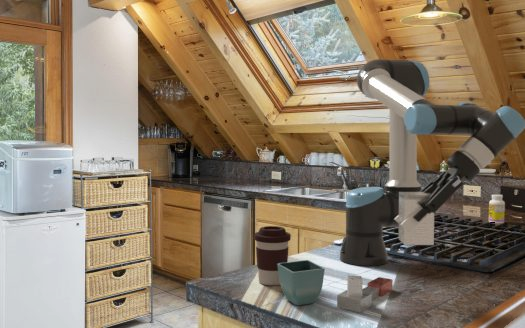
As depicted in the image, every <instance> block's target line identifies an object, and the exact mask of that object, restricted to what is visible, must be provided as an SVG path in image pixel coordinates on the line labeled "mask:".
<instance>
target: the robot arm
mask: <svg viewBox="0 0 525 328" xmlns="http://www.w3.org/2000/svg"><path fill="white" fill-rule="evenodd" d="M424 65H425V64H423V63H422V62H420V61H416V60H410V59H407V60H406V59H386V58H385V59H383V58H378V59H377V58H376V59H373V60H370V61H367V62H366V63H364V64H363V65H362V67H361V68H360V69H359V71H358V73H357V76H356V84H357V87H358V90H359V91H360V92H361V93H362V95H364V96H365V97H367V98H369V99H373V100H377V101H378V102H379V103H381V104H383V105H384V106H385V107H387V108H388V109H389V180H388V181H387V182H386V183H385V184H384V188H383V187H381V186H364V187H357V188H354V189H351V190H349V191H348V192H347V195H346V201H345V237H344V240H343V243H342V246H341V247H340V252H339V260H340V261H341V262H343V263H345V264H349V265H353V266H354V265H355V266H364V267H366V266H367V267H368V266H369V267H372V266H382V265H385V264H387V263H388V257H389V255H388V252H387V249H386V244H385V242H384V237H383V233H384V232H383V230H384V228H396V227H397V228H399V192H428V193H430V194H431V196H430V197H429V198H428V199H427V200H426V201H425V203H423V202H422V203H420V205H421V206H422V207H423V208H422V207H421V206H419V207H418V208H417V209H416V210H415V211H414V212H413V213H412V214H411V215H410V216H409V217H407V218H406V219H405V220H404V221H403V222H402V223H401V224H400V225H401V226H402V227H403V228H404V229H405V230H406V231H407V232H408V233H409V232H410V231H411V230H413V229H414V228H415V227H416V226H417V225H418V224H419V223H420V222H421V221H422V220H423V219H424V218H425V217H426V216H427V215H428V213H429V214H430V213H432V212H433V213H434V214H435V213H436V212H437V211H438V210H439V209H440V208H441V207H442V206H443V205H444V204H445V203H446V202H447V200H448V199H450V197H452V195H453V194H455V192H456V191H457V190H459V189H460V188H461V187H463V185H464V182H463V181H462V180H465V181H466V182H471V181H472V180H473V179H475V178H476V177H477V176H478V175H479V174H480V172H481V170H484V168H486V167H487V166H490V165H492V161H493V160H494V159H495V158H496V157H497V156H499V154H501V152H502V151H503V150H505V149H506V148H507V147H508V146H509V145H510V144H511V143H512V142H513V141H514V140H515V139H516V140H517V138H518V136H519V135H520V134H521V133H522V132H523V131H524V130H525V118H524V117H523V116H522V114H520V112H518V111H517V110H516V109H514V108H513V107H510V106H508V105H504V106H501V107H500V108H498V109H497V110H495V112H494V111H491V110H488V109H486V108H484V107H481V106H479V105H477V104H476V103H473V102H472V103H470V102H467V101H462V102H459V103H457V104H452V105H451V104H436V103H434V102H431V101H429V100H428V99H426V98H425V97H424V96H426V94H427V93H428V92H429V91H428V89H430V74H429V72H428V69H427V67H426V66H424ZM417 135H420V136H426V135H429V136H430V135H457V136H459V135H461V136H462V135H463V136H464V135H468V136H470V137H468V138H467V139H466V140H465V142H464V143H462V144H461V145H460V146H459V147H458V149H459V150H455V152H453V153H452V154H451V155H449V158H447V159H446V163H447V164H448V166H449V168H448V169H447V170H444V171H440V172H438V173H437V174H436V175H435V177H433V178H432V179H431V180H430V181H429V182H428V183H427V184H426V185H425V186H424V187H423V188H422V184H420V182H419V181H418V180H417V179H418V178H417V175H418V174H417V169H418V168H417V165H418V163H417V162H418V161H417V159H418V158H417V156H418V155H417V152H418V150H417V149H418V145H417V143H418V140H417V139H418V138H417V137H418V136H417Z"/></svg>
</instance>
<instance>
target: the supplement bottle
mask: <svg viewBox="0 0 525 328" xmlns="http://www.w3.org/2000/svg"><path fill="white" fill-rule="evenodd" d="M503 197H504V196H503V194H491V200H489V202H488V222H489V223H490V222H495V223H494V224H495V225H496V224H499V225H501V224H502V225H503V224H504V223H505V211H506V202H505V201H504V200H503Z"/></svg>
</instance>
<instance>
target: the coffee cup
mask: <svg viewBox="0 0 525 328" xmlns="http://www.w3.org/2000/svg"><path fill="white" fill-rule="evenodd" d="M291 235H292V234H291V233H290V232H287V231H286V228H285V227H282V226H277V225H275V226H274V225H270V226H269V225H267V226H262V227H260V228H259V230H258V231H257V232H254V235H253V238H254V241H256V246H255V253H256V254H255V255H256V267H257V271H258V272H257V273H258V282H259V283H260V284H262V285H264V286H281V285H280V281H279V274H278V265H277V264H278V263H286V262H289V261H288V260H289V259H288V258H289V242H290V241H291V238H292V237H291Z"/></svg>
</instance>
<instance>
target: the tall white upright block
mask: <svg viewBox="0 0 525 328" xmlns="http://www.w3.org/2000/svg"><path fill="white" fill-rule="evenodd" d="M430 196H431V194H430V193H428V192H399V227H398V240H399V241H400V242H401V243H402V244H403V245H405V246H407V245H408V246H434V244H435V213H433V212H432V213H430V214H429V213H428V215H427V216H426V217H425V218H424V219H423V220H422V221H421V222H420V223H419V224H418V225H417V226H416V227H415V228H414V229H413V230H411V231H410V232H409V233H408V232H407V231H406V230H405V229H404V228H403V227H402V226H401V225H400V224H401V223H402V222H403V221H404V220H405V219H406V218H407V217H409V216H410V215H411V214H412V213H413V212H414V211H415V210H416V209H417V208H418V207H419V206H421V205H420V203H422V202H423V203H425V201H426V200H427V199H428V198H429V197H430ZM421 207H422V206H421ZM422 208H423V207H422Z"/></svg>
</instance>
